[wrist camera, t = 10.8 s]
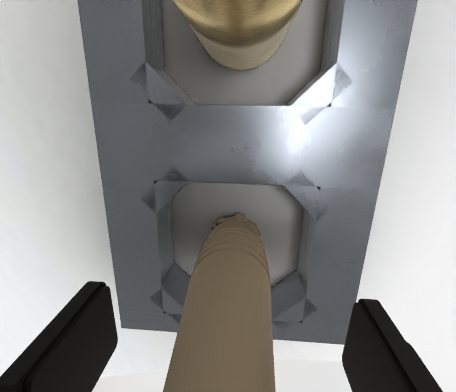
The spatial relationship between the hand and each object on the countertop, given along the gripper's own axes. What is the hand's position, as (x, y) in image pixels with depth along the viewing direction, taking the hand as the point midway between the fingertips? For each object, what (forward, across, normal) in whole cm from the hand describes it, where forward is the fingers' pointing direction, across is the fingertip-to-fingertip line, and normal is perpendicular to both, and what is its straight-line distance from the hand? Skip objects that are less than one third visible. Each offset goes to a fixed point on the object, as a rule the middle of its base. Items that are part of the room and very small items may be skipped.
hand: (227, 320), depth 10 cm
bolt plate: (+9, 0, -6) cm, 10 cm away
